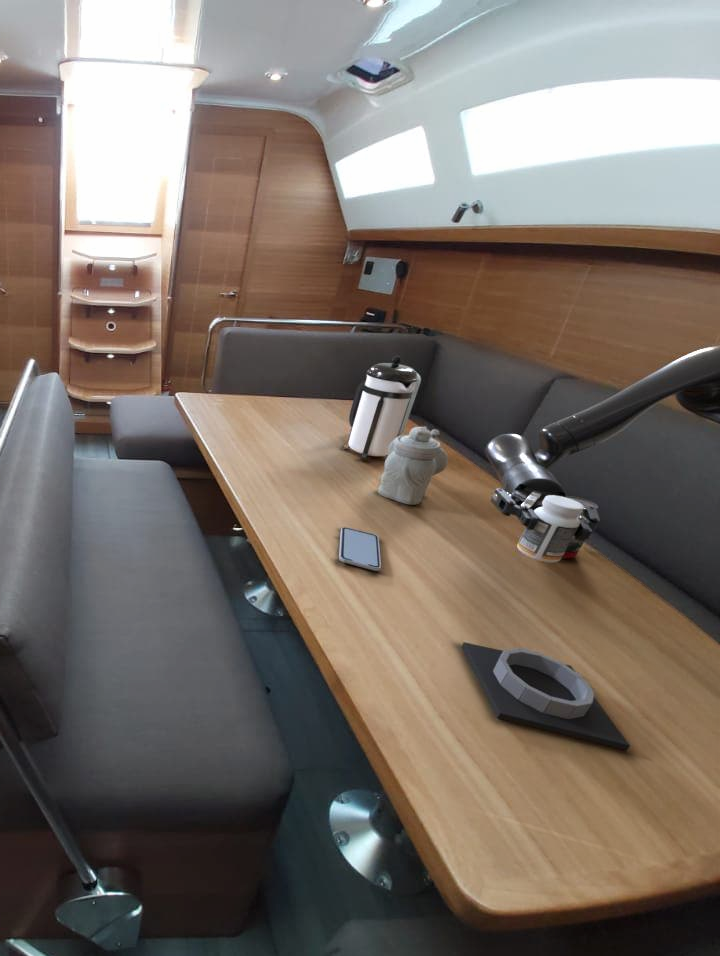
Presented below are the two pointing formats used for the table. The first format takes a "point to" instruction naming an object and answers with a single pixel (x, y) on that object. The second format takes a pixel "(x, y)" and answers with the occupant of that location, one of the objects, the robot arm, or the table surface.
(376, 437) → the coffee press
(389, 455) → the grey sculpted cookie jar
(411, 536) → the table surface
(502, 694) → the dock
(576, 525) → the pill bottle
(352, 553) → the smartphone
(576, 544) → the beverage can
